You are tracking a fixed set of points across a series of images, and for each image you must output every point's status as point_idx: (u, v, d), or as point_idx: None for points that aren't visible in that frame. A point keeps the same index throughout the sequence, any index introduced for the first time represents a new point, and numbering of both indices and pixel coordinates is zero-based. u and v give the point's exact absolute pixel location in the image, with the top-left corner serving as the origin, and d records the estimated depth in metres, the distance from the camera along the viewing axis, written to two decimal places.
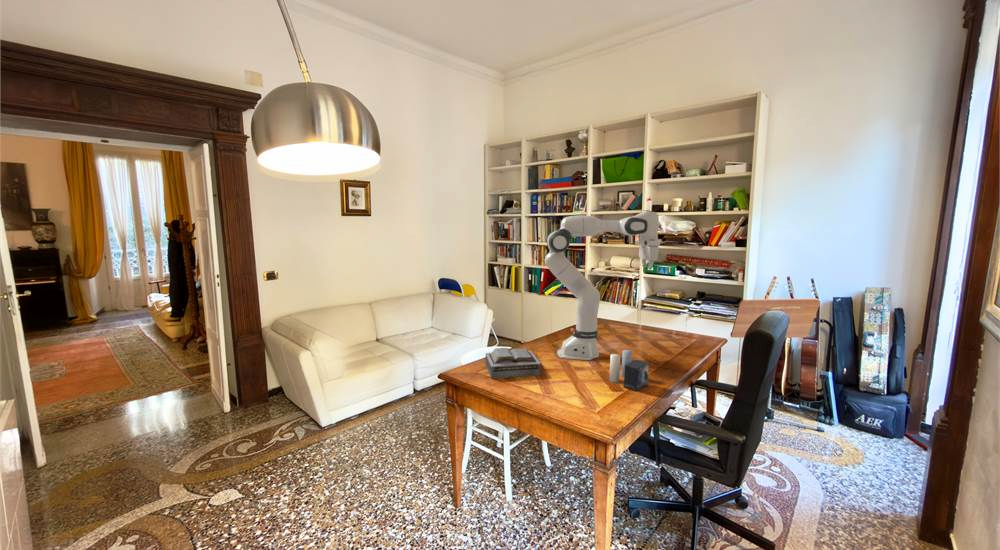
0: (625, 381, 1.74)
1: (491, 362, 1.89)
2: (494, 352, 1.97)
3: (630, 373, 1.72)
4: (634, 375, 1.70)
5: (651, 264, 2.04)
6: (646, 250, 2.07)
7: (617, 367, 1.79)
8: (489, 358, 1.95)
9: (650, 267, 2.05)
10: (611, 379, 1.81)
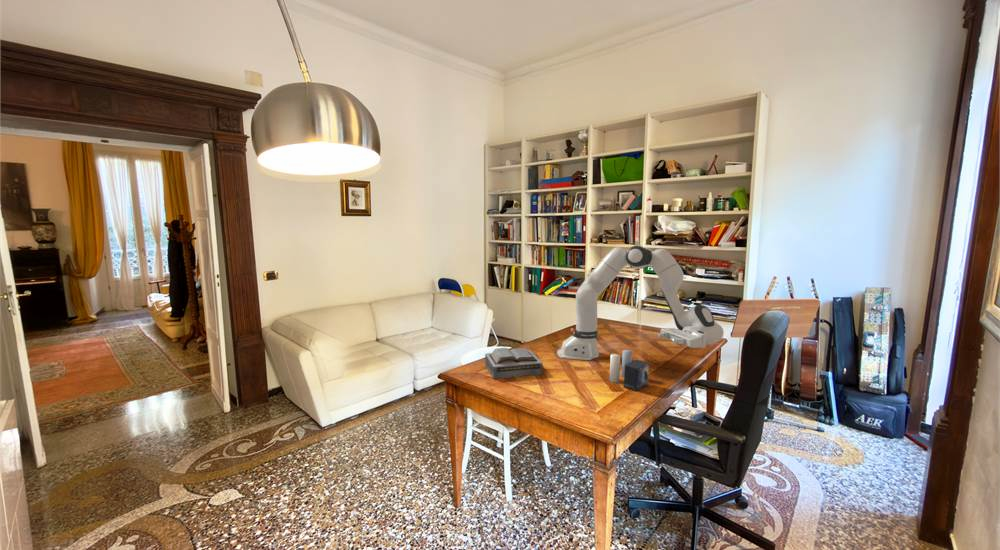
0: (625, 381, 1.74)
1: (493, 362, 1.89)
2: (494, 352, 1.96)
3: (630, 373, 1.72)
4: (634, 375, 1.71)
5: (679, 342, 1.73)
6: (687, 334, 1.78)
7: (617, 367, 1.79)
8: (490, 358, 1.94)
9: (675, 341, 1.73)
10: (611, 379, 1.81)
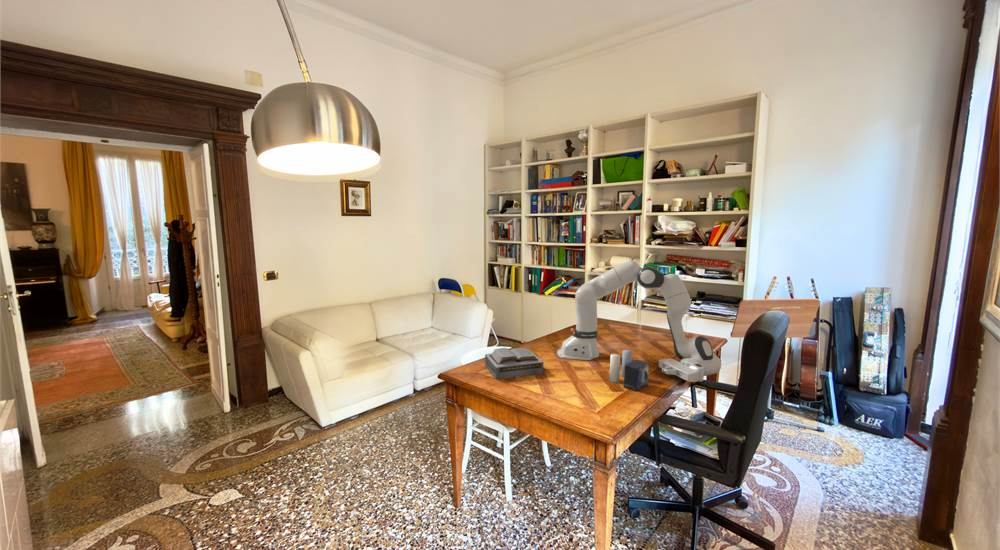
0: (625, 381, 1.74)
1: (494, 363, 1.88)
2: (495, 353, 1.96)
3: (630, 373, 1.72)
4: (634, 375, 1.71)
5: (671, 372, 1.79)
6: (685, 367, 1.80)
7: (617, 367, 1.79)
8: (491, 359, 1.93)
9: (668, 372, 1.79)
10: (611, 379, 1.81)
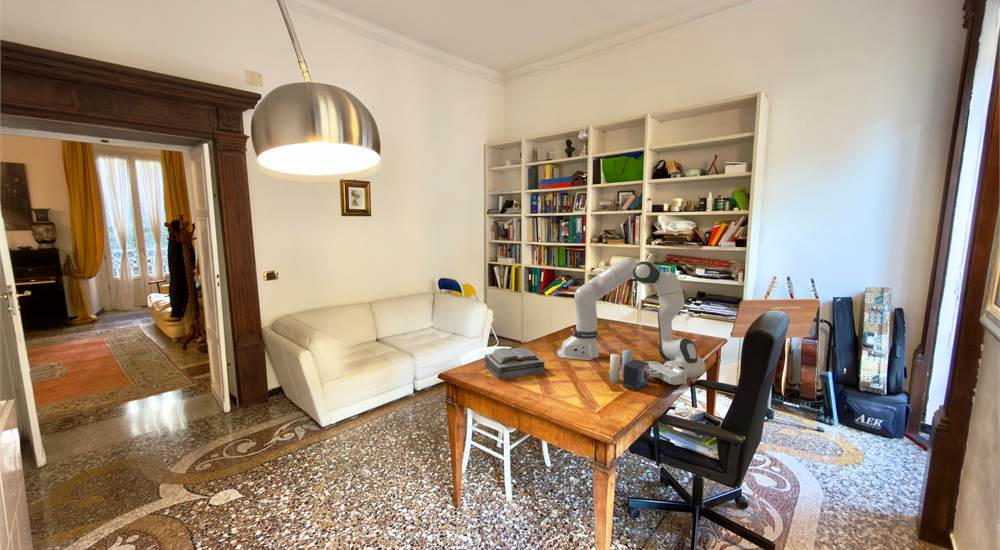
0: (624, 381, 1.74)
1: (496, 363, 1.88)
2: (495, 353, 1.96)
3: (630, 373, 1.72)
4: (633, 375, 1.70)
5: (654, 375, 1.76)
6: (668, 370, 1.78)
7: (617, 367, 1.79)
8: (492, 359, 1.93)
9: (650, 374, 1.76)
10: (611, 379, 1.81)
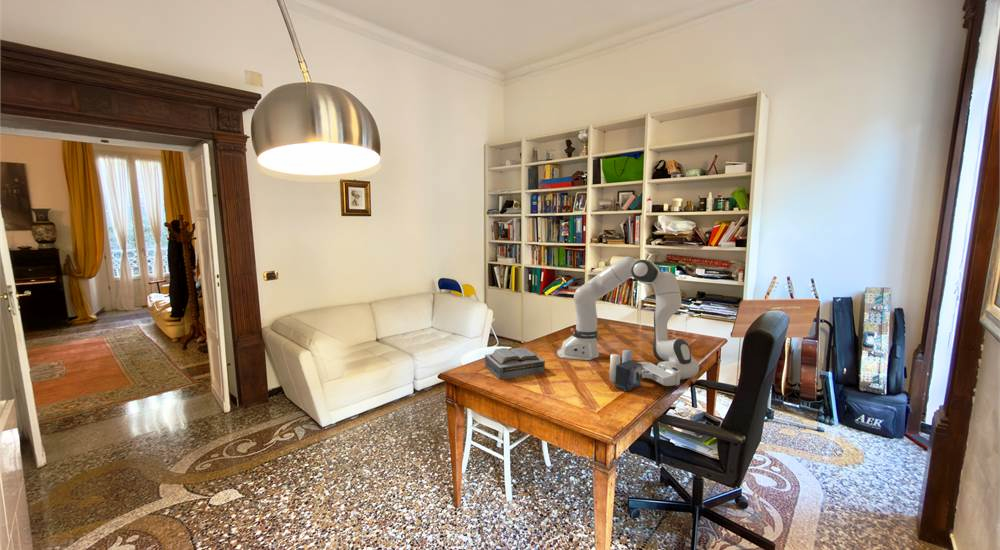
0: (616, 381, 1.73)
1: (497, 363, 1.88)
2: (496, 353, 1.95)
3: (621, 373, 1.71)
4: (625, 376, 1.70)
5: (647, 376, 1.75)
6: (661, 371, 1.76)
7: None
8: (492, 359, 1.93)
9: (643, 375, 1.75)
10: (611, 379, 1.81)
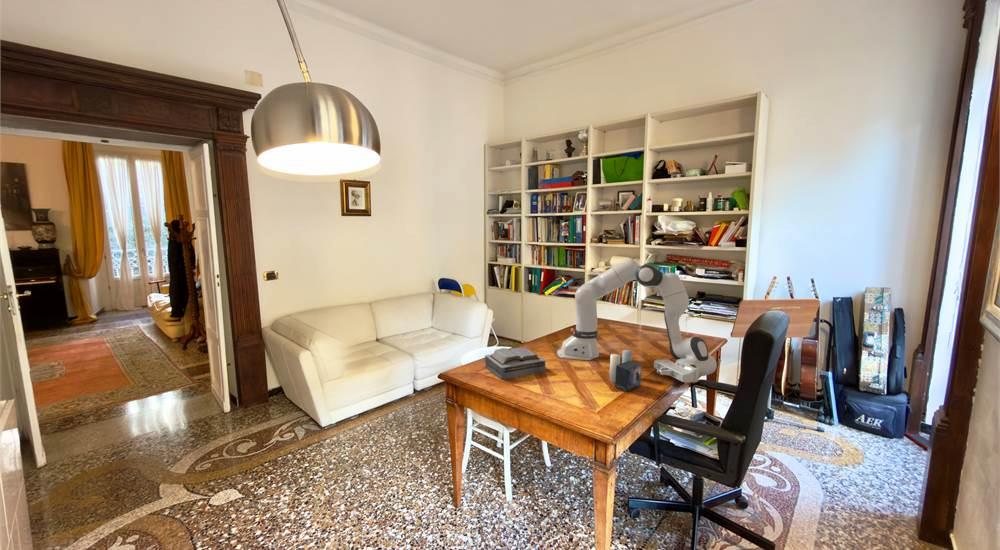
0: (616, 382, 1.73)
1: (498, 363, 1.87)
2: (496, 353, 1.95)
3: (621, 374, 1.71)
4: (625, 376, 1.70)
5: (666, 373, 1.78)
6: (680, 368, 1.79)
7: None
8: (493, 360, 1.92)
9: (662, 372, 1.78)
10: (611, 379, 1.81)
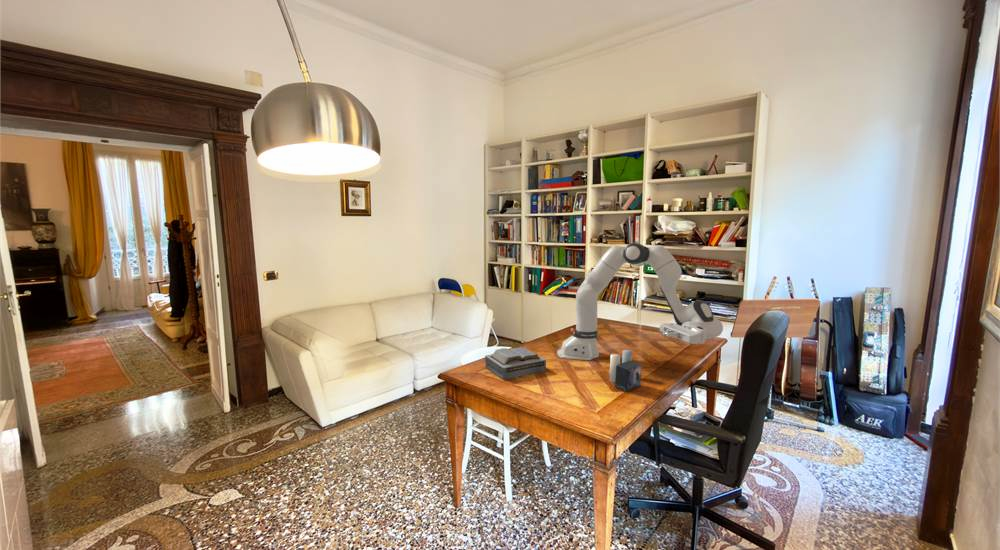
0: (616, 382, 1.73)
1: (499, 364, 1.87)
2: (497, 353, 1.95)
3: (621, 374, 1.71)
4: (625, 376, 1.70)
5: (673, 335, 1.77)
6: (686, 330, 1.78)
7: None
8: (494, 360, 1.92)
9: (669, 335, 1.77)
10: (611, 379, 1.81)
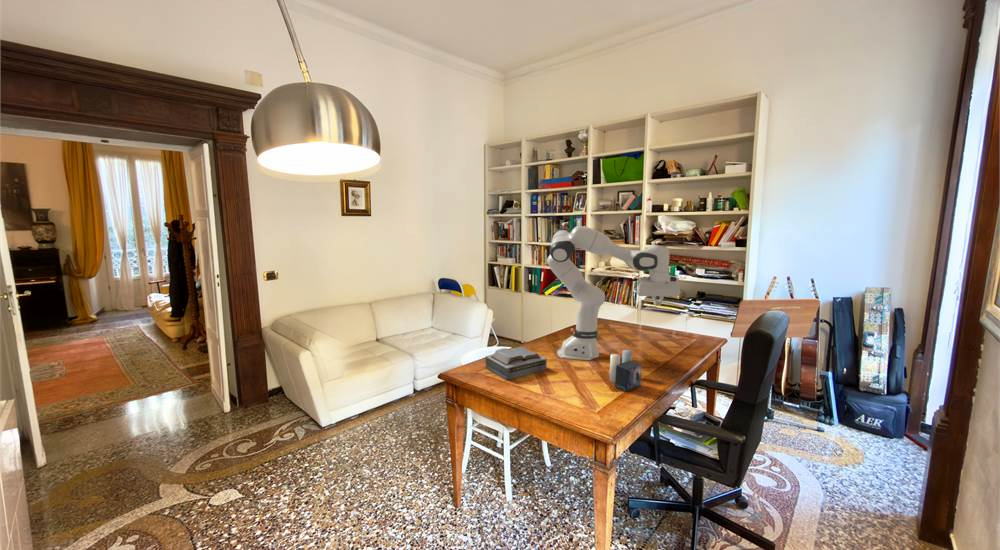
0: (616, 382, 1.73)
1: (502, 364, 1.87)
2: (498, 354, 1.94)
3: (621, 374, 1.71)
4: (625, 376, 1.70)
5: None
6: (663, 286, 1.95)
7: None
8: (495, 360, 1.91)
9: None
10: (611, 379, 1.81)
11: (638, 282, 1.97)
